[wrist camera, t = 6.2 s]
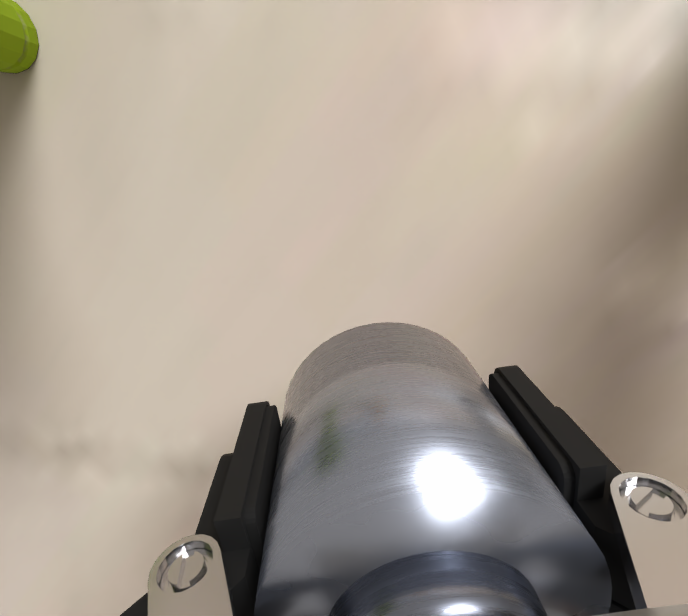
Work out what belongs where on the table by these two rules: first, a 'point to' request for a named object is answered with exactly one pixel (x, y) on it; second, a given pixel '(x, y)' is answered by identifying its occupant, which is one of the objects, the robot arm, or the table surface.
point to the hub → (415, 494)
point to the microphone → (16, 38)
